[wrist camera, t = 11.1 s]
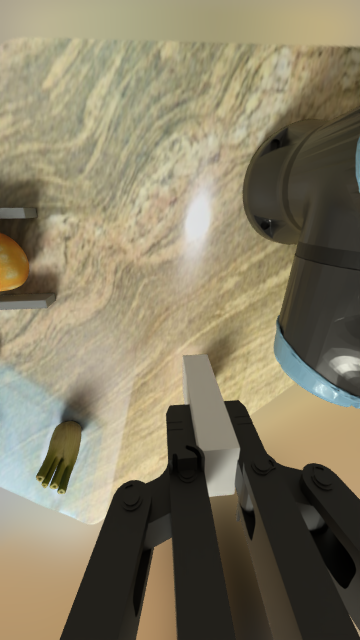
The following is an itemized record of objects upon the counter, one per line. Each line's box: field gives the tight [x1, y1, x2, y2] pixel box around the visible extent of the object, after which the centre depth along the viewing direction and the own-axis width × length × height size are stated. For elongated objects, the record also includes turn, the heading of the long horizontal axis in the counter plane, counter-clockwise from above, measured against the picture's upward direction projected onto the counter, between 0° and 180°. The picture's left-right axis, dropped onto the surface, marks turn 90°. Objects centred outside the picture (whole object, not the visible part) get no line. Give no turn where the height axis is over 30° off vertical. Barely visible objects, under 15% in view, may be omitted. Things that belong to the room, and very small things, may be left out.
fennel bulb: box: [36, 421, 81, 494], centre depth 45 cm, size 6×5×12 cm
